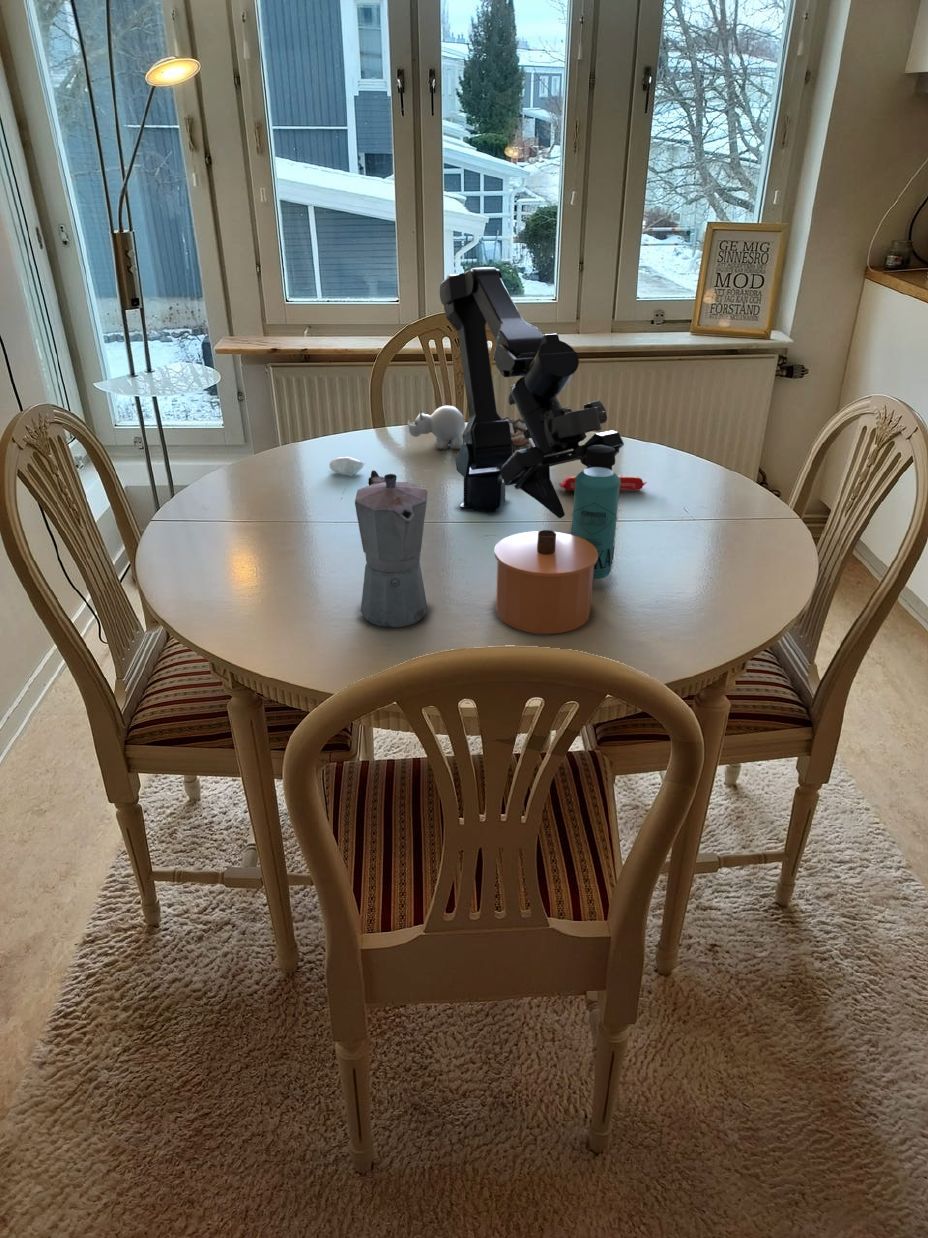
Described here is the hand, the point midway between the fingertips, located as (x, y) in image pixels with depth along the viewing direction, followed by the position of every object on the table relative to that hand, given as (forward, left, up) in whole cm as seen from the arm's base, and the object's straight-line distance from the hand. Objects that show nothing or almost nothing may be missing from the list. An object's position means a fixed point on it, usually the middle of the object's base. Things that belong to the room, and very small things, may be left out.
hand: (587, 510), depth 121 cm
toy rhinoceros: (-45, +52, -11) cm, 69 cm away
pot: (-3, -12, -11) cm, 16 cm away
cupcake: (-26, +43, -11) cm, 51 cm away
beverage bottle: (+1, 0, -11) cm, 11 cm away
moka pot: (-22, -19, -11) cm, 31 cm away
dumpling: (-54, +29, -11) cm, 62 cm away
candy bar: (-6, +38, -11) cm, 40 cm away
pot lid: (-3, -12, -2) cm, 12 cm away
